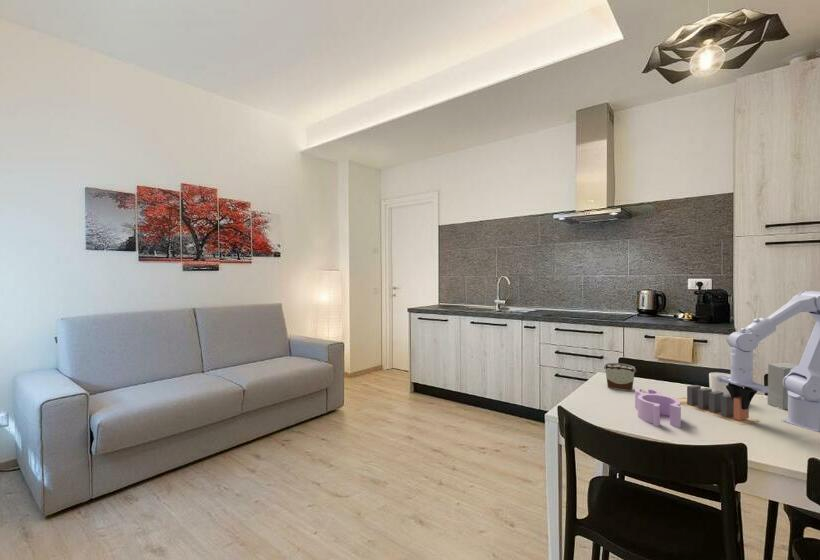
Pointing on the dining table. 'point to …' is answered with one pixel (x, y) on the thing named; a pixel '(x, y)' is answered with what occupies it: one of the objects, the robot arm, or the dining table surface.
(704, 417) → the dining table surface
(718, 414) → the cork strip
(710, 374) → the white cup
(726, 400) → the domino
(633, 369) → the food container
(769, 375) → the skincare box
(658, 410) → the clip
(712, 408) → the domino
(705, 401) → the domino
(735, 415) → the rust domino
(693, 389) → the domino
